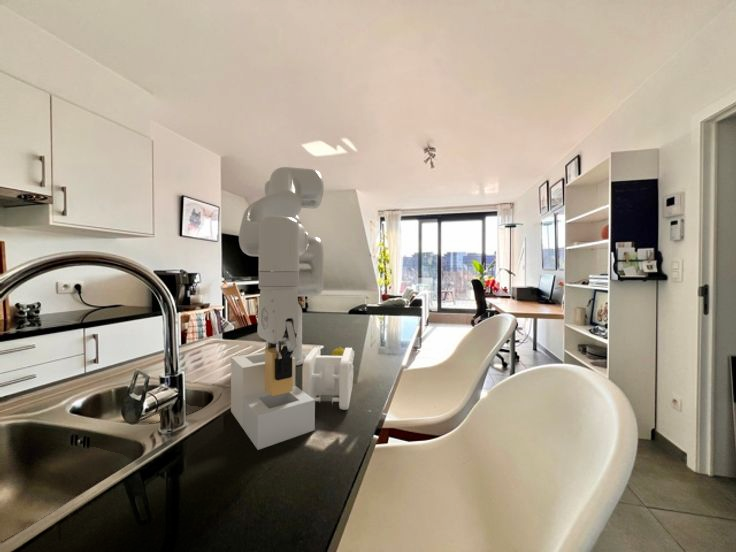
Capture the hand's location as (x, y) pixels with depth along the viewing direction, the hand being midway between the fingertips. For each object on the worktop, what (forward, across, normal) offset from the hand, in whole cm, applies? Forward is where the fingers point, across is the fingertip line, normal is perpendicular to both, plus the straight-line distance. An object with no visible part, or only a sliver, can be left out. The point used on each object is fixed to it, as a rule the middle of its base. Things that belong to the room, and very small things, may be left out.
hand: (278, 374), depth 60 cm
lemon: (+11, -21, +27) cm, 36 cm away
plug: (+3, 0, 0) cm, 3 cm away
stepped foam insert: (+11, -5, 0) cm, 12 cm away
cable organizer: (+11, -6, +15) cm, 20 cm away
